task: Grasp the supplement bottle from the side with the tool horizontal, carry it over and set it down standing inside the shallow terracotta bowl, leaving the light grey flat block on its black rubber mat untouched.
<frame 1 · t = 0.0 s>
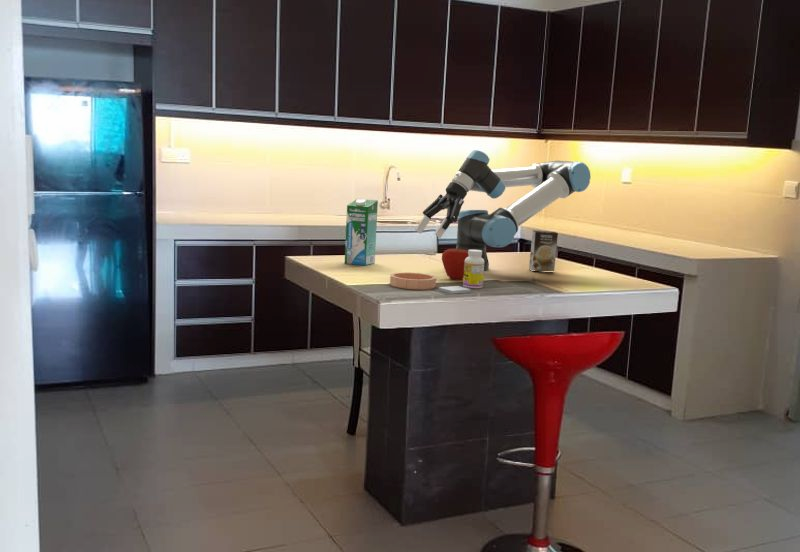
hand: (427, 233, 280), 15 cm above the table, tool tilted 35°, fingers open, 13 cm apart
apple: (455, 280, 275), on the table
light grey flat block: (454, 291, 249), resting on mat
coffee box: (541, 271, 309), on the table
milk carton: (359, 263, 304), on the table
bowl: (412, 286, 256), on the table
mat: (454, 293, 249), on the table
supplement bottle: (472, 288, 261), on the table
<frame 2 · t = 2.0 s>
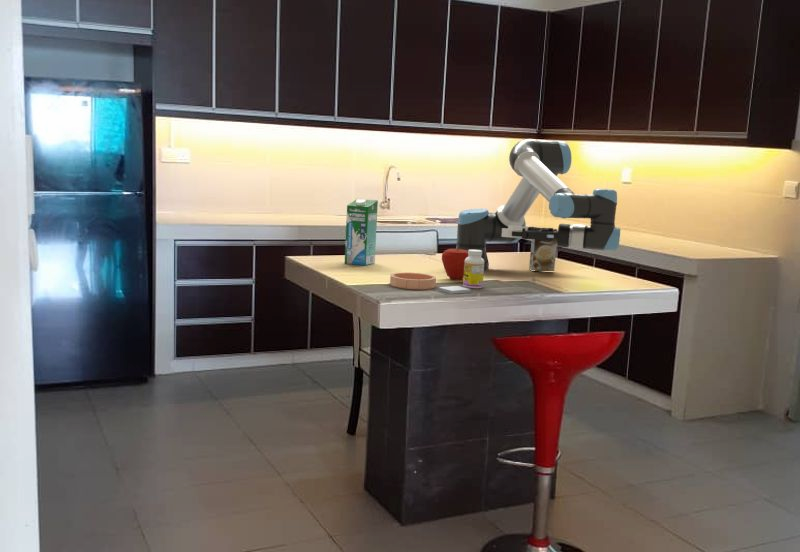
hand: (504, 230, 255), 20 cm above the table, tool horizontal, fingers open, 13 cm apart
nothing on the table moved.
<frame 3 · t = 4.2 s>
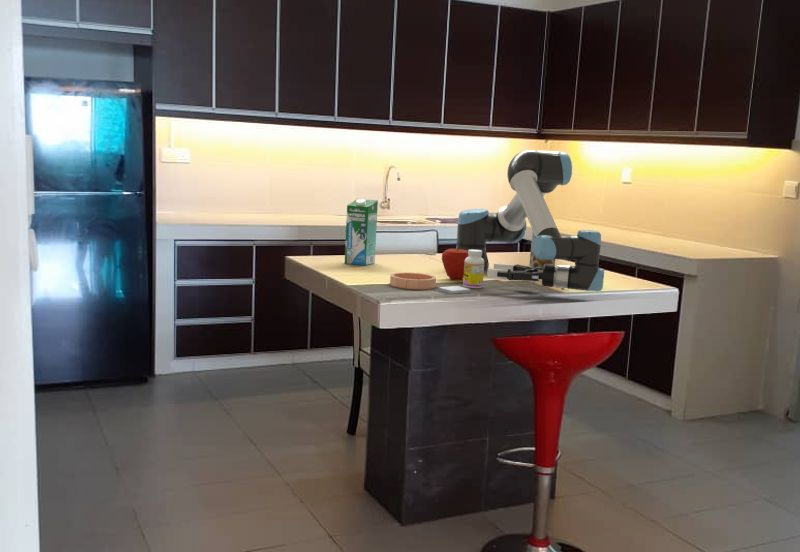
hand: (490, 269, 258), 7 cm above the table, tool horizontal, fingers open, 13 cm apart
nothing on the table moved.
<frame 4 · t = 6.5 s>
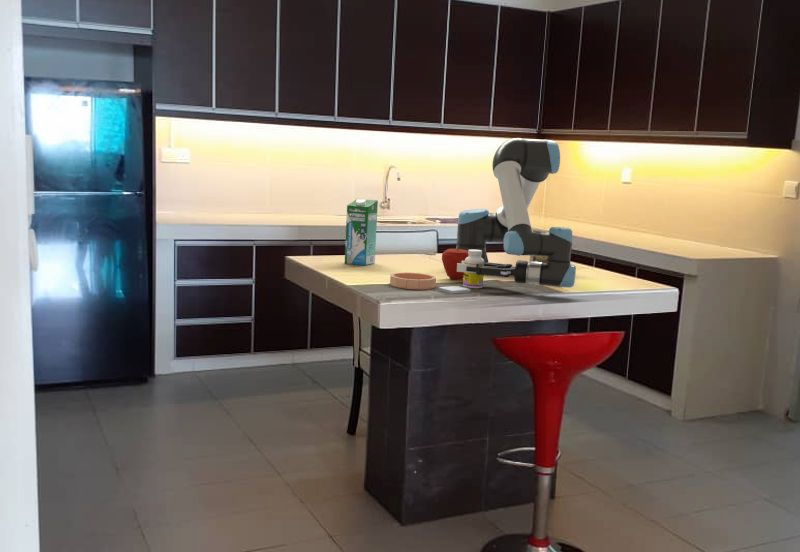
hand: (459, 266, 261), 7 cm above the table, tool horizontal, fingers closed on supplement bottle, 7 cm apart
supplement bottle: (472, 288, 261), on the table, touching gripper
everything else where it was.
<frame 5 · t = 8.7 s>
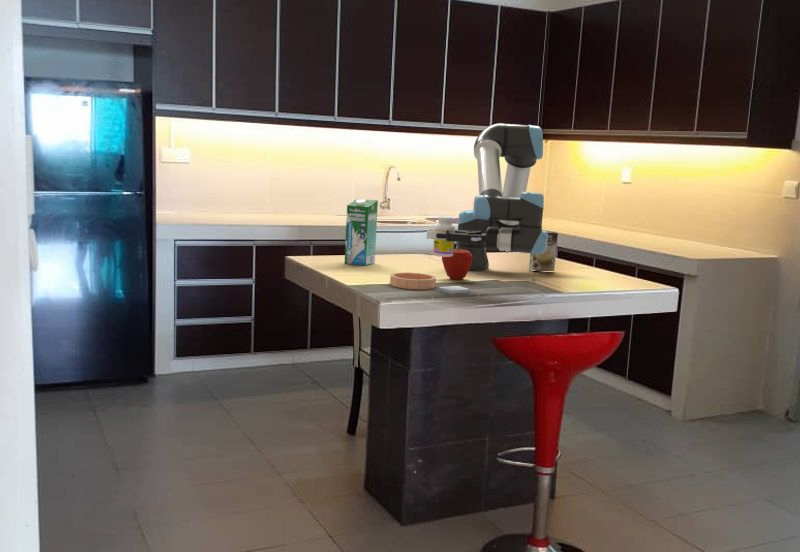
hand: (429, 233, 255), 18 cm above the table, tool horizontal, fingers closed on supplement bottle, 7 cm apart
supplement bottle: (443, 256, 255), point 11 cm above the table, touching gripper
everything else where it was.
when the fingers open (9 cm above the table, at t = 11.3 s): supplement bottle drops 1 cm, resting on bowl.
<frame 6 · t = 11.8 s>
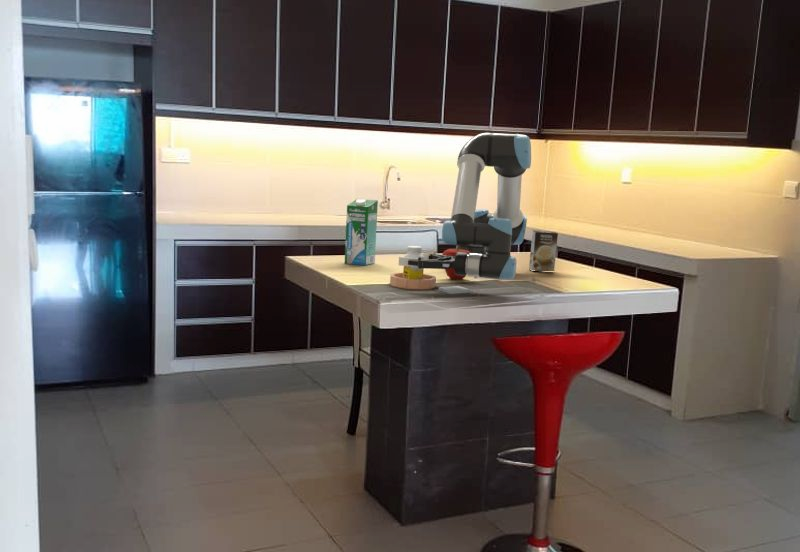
hand: (404, 258, 256), 9 cm above the table, tool horizontal, fingers open, 13 cm apart
supplement bottle: (412, 285, 256), resting on bowl
everything else where it was.
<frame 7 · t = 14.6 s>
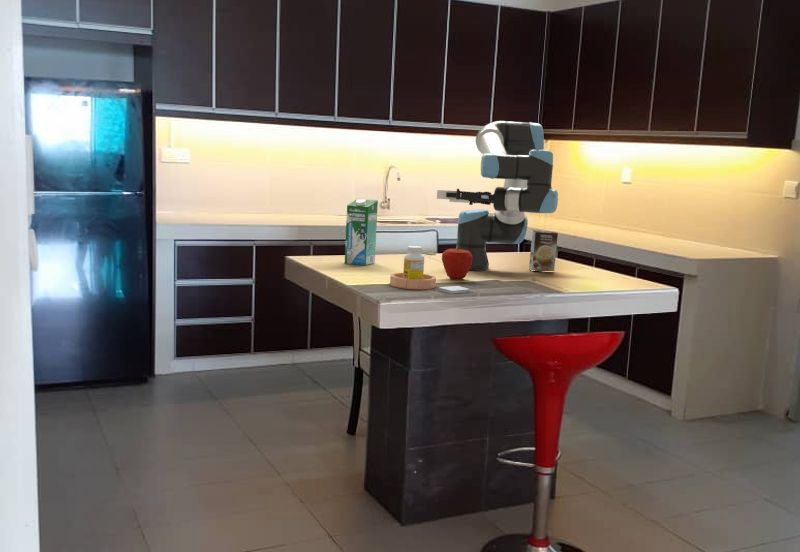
hand: (443, 196, 252), 31 cm above the table, tool horizontal, fingers open, 13 cm apart
nothing on the table moved.
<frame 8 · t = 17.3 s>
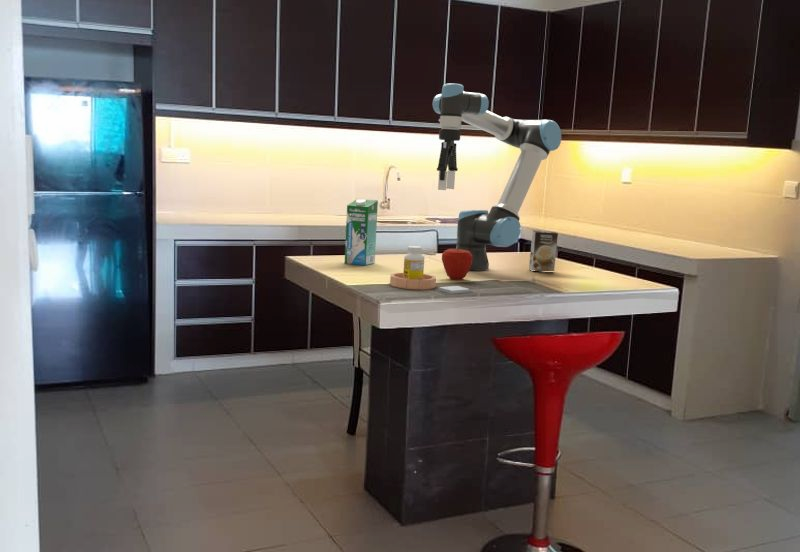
hand: (446, 189, 275), 32 cm above the table, tool pointing down, fingers open, 13 cm apart
nothing on the table moved.
at the end: supplement bottle inside the target area on the bowl (0.1 cm from its centre), point 0.4 cm above the bowl's base; supplement bottle tilted 0°; the gripper is holding nothing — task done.
